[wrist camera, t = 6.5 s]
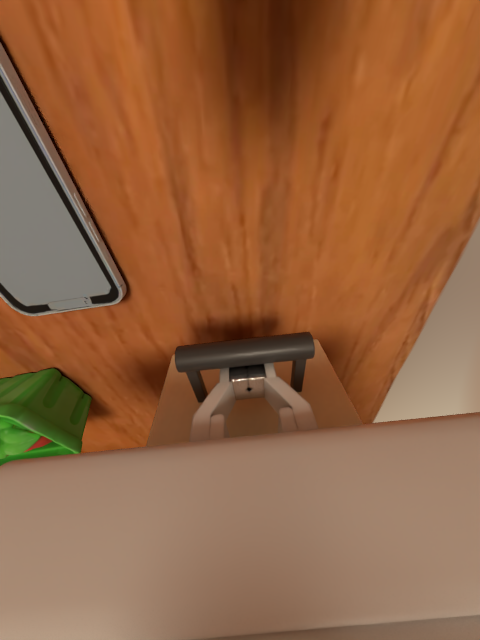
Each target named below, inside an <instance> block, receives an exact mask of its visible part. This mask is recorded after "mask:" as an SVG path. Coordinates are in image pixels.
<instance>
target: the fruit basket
mask: <svg viewBox="0 0 480 640" xmlns="http://www.w3.org/2000/svg"><path fill="white" fill-rule="evenodd" d="M91 400H92V398H91V397H90V396H89V395H87V394H84V393H83V391H82V390H81V389H80V388H79V387H78V386H76V385H75V384H74V383H73V382H71V381H70V380H69V379H67V378H66V377H64V376H61V374H60V372H59V371H58V370H57V369H54V368H51V369H46V370H42V371H39V372H37V373H27V374H22V375H17V376H15V377H13V378H2V379H0V466H1V465H3V464H5V463H7V462H10V461H13V460H20V459H30V458H39V457H49V456H59V455H69V454H78V453H81V448H82V436H83V432H84V428H85V424H86V420H87V416H88V412H89V408H90V404H91Z"/></svg>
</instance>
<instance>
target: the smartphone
mask: <svg viewBox="0 0 480 640" xmlns="http://www.w3.org/2000/svg"><path fill="white" fill-rule="evenodd" d="M125 294H126V285H125V283H124V281H123V279H122V277H121V275H120V273H119V271H118V269H117V267H116V265H115V263H114V261H113V259H112V257H111V255H110V254H109V252H108V250H107V248H106V246H105V244H104V242H103V240H102V238H101V236H100V234H99V232H98V230H97V228H96V226H95V224H94V223H93V221H92V219H91V217H90V215H89V213H88V211H87V209H86V207H85V205H84V203H83V201H82V199H81V197H80V195H79V193H78V192H77V190H76V188H75V186H74V184H73V182H72V180H71V178H70V176H69V174H68V172H67V170H66V168H65V166H64V164H63V162H62V161H61V159H60V157H59V155H58V153H57V151H56V149H55V147H54V145H53V143H52V141H51V139H50V137H49V135H48V133H47V131H46V130H45V128H44V126H43V124H42V122H41V120H40V118H39V116H38V114H37V112H36V110H35V108H34V106H33V104H32V102H31V100H30V99H29V97H28V95H27V93H26V91H25V89H24V87H23V85H22V83H21V81H20V79H19V77H18V75H17V73H16V71H15V69H14V68H13V66H12V64H11V62H10V60H9V58H8V56H7V54H6V52H5V50H4V48H3V46H2V44H1V42H0V296H1V297H2V299H3V300H4V301H5V302H6V303H7V304H8V305H9V306H10V307H12V308H13V309H14V310H16V311H18V312H20V313H22V314H25V315H29V316H40V315H46V314H53V313H60V312H67V311H73V310H80V309H87V308H93V307H100V306H107V305H113V304H116V303H118V302H120V300H121V299H122V298H123V297H124V296H125Z"/></svg>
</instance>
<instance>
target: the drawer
mask: <svg viewBox="0 0 480 640" xmlns="http://www.w3.org/2000/svg"><path fill="white" fill-rule="evenodd" d="M267 363H273V364H274V368H275V372H276V376H277V377H278V376H279V377H280V378H281V379H283V380H284V381H285V382H286V383H287V384H288V385H289V386H290V387H291V388H293V389H294V390H295V391H296V392H297V393H298V394H299V395H300V396H301V397H302V398H304V399H305V400H306V401H307V402H308V403H309V404H310V406H311V409H312V411H313V414H314V417H315V420H316V423H317V425H318V428H319V429H321V428H331V427H341V426H350V425H360V424H362V421H361V419H360V417H359V415H358V414H357V412H356V410H355V408H354V406H353V404H352V402H351V401H350V399H349V397H348V395H347V393H346V391H345V389H344V388H343V386H342V384H341V382H340V380H339V378H338V376H337V375H336V373H335V371H334V369H333V367H332V365H331V363H330V362H329V360H328V358H327V356H326V354H325V352H324V350H323V349H322V347H321V345H320V343H319V341H318V339H314V340H313V338H312V335H311V334H310V333H309V332H302V333H293V334H284V335H275V336H266V337H257V338H248V339H239V340H230V341H221V342H212V343H203V344H194V345H185V346H178V347H177V348H176V351H175V355H172V359H171V362H170V365H169V369H168V372H167V376H166V379H165V383H164V386H163V390H162V393H161V397H160V400H159V403H158V407H157V410H156V414H155V417H154V421H153V424H152V428H151V431H150V435H149V438H148V441H147V446H156V445H166V444H176V443H186V442H189V438H190V431H191V424H192V417H193V415H194V414H195V412H196V411H197V410H198V408H199V407H200V406H201V404H202V403H203V401H204V400H205V399H206V397H207V396H208V395H209V393H210V392H211V390H212V389H213V388H214V386H215V385H216V384H217V383H219V376H220V369H221V368H230V367H239V366H249V365H258V364H267ZM278 417H279V415H278V414H277V413H276V411H275V410H274V409H273V408H272V406H271V405H270V404H269V403H268V401H267V400H266V399H265V398H252V399H244V400H236V402H235V404H234V406H233V408H232V410H231V412H230V414H229V416H228V418H227V420H226V425H227V428H228V432H229V435H230V438H234V437H243V436H253V435H263V434H273V433H278Z"/></svg>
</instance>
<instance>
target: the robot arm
mask: <svg viewBox="0 0 480 640" xmlns="http://www.w3.org/2000/svg"><path fill="white" fill-rule="evenodd" d="M252 398H265V399H266V400H267V401H268V403H269V404H270V405H271V406H272V408H273V409H274V410H275V411H276V413H277V414H278V415H279V417H278V433H273V434H263V435H253V436H243V437H234V438H230V435H229V432H228V428H227V425H226V420H227V418H228V416H229V414H230V412H231V410H232V408H233V406H234V404H235V402H236V400H244V399H252ZM0 640H480V412H476V413H466V414H457V415H447V416H438V417H428V418H419V419H410V420H399V421H390V422H380V423H370V424H360V425H350V426H341V427H331V428H321V429H319V428H318V425H317V423H316V420H315V417H314V414H313V411H312V409H311V406H310V404H309V403H308V402H307V401H306V400H305V399H304V398H302V397H301V396H300V395H299V394H298V393H297V392H296V391H295V390H294V389H293V388H291V387H290V386H289V385H288V384H287V383H286V382H285V381H284V380H283V379H281V378H280V377H279V376H278V377H277V376H276V372H275V368H274V364H273V363H267V364H258V365H249V366H239V367H230V368H221V369H220V376H219V383H217V384H216V385H215V386H214V388H213V389H212V390H211V392H210V393H209V395H208V396H207V397H206V399H205V400H204V401H203V403H202V404H201V406H200V407H199V408H198V410H197V411H196V412H195V414H194V415H193V417H192V424H191V431H190V438H189V442H186V443H176V444H166V445H156V446H147V447H137V448H127V449H117V450H108V451H98V452H88V453H78V454H69V455H59V456H49V457H39V458H30V459H20V460H13V461H10V462H7V463H5V464H3V465H1V466H0Z"/></svg>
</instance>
